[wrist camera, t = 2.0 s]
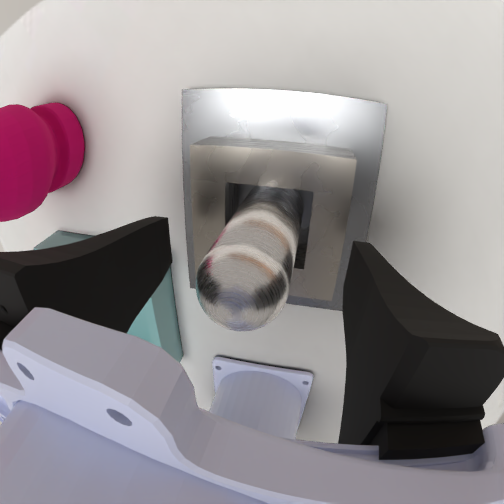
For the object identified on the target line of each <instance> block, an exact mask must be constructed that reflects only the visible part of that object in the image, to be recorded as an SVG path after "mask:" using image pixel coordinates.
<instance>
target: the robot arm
mask: <svg viewBox="0 0 504 504" xmlns="http://www.w3.org/2000/svg"><path fill="white" fill-rule="evenodd" d="M171 263H172V255H171V245H170V235H169V224H168V218H165V217H156V216H154V217H149V218H145V219H142V220H139V221H136V222H133V223H130V224H127V225H125V226H122V227H119V228H117V229H114V230H111V231H108V232H106V233H103V234H100V235H97V236H94V237H91V238H88V239H85V240H81V241H78V242H74V243H70V244H66V245H61V246H56V247H51V248H46V249H39V250H30V251H19V252H0V421H1V422H2V424H1V426H0V504H504V423H501V424H494V425H490V426H488V427H486V428H484V429H483V430H482V427H481V422H480V420H482V419H483V418H484V416H485V412H484V408H483V404H484V403H485V402H486V400H487V399H488V398H489V397H490V396H491V394H492V393H493V392H494V391H495V389H496V388H497V387H498V385H499V384H500V383H501V381H502V379H503V378H504V346H503V344H502V342H501V339H500V337H499V335H498V334H496V333H494V332H491V331H489V330H486V329H484V328H482V327H479V326H477V325H474V324H472V323H470V322H468V321H466V320H464V319H462V318H460V317H458V316H456V315H455V314H453V313H451V312H449V311H448V310H446V309H444V308H443V307H441V306H440V305H438V304H437V303H435V302H433V301H432V300H431V299H429V298H428V297H426V296H425V295H424V294H423V293H421V292H420V291H419V290H417V289H416V288H415V287H414V286H412V285H411V284H410V283H409V282H408V281H407V280H406V279H405V278H404V277H403V276H401V275H400V274H399V273H398V272H397V271H396V270H395V269H394V268H393V267H392V266H391V265H390V264H389V263H388V262H387V261H386V259H385V258H384V257H383V256H382V255H381V254H380V253H379V252H378V251H377V250H376V249H375V248H374V247H373V246H372V245H371V244H370V243H367V242H360V241H353V244H352V249H351V254H350V258H349V263H348V268H347V272H346V277H345V281H344V285H343V307H342V309H343V320H344V331H345V343H346V361H347V367H346V383H345V395H344V405H343V414H342V421H341V429H340V436H339V442H338V444H335V443H323V442H313V441H305V440H296V435H297V429H298V426H299V423H300V420H301V417H302V414H303V411H304V408H305V405H306V401H307V398H308V395H309V392H310V388H311V385H312V381H313V374H312V373H310V372H305V371H298V370H291V369H284V368H278V367H272V366H266V365H260V364H254V363H248V362H243V361H238V360H233V359H228V358H223V357H215V358H214V359H213V362H212V364H213V376H214V387H215V397H214V400H213V402H212V405H211V408H210V410H209V412H208V411H206V410H203V409H201V408H199V407H198V405H197V402H196V397H195V391H194V386H193V384H192V383H191V381H190V379H189V377H188V375H187V374H186V372H185V370H184V368H183V366H182V365H181V364H180V363H179V362H178V361H176V360H175V359H174V358H173V357H172V356H170V355H169V354H168V353H167V352H166V351H165V350H163V349H162V348H161V347H159V346H157V345H154V344H152V343H150V342H148V341H146V340H144V339H141V338H139V337H137V336H133V335H130V334H127V332H128V330H129V328H130V327H131V325H132V323H133V322H134V320H135V318H136V317H137V316H138V314H139V313H140V311H141V310H142V309H143V307H144V306H145V304H146V303H147V302H148V300H149V299H150V297H151V296H152V295H153V293H154V292H155V291H156V289H157V288H158V286H159V285H160V284H161V282H162V281H163V279H164V277H165V275H166V273H167V271H168V269H169V267H170V265H171Z"/></svg>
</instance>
